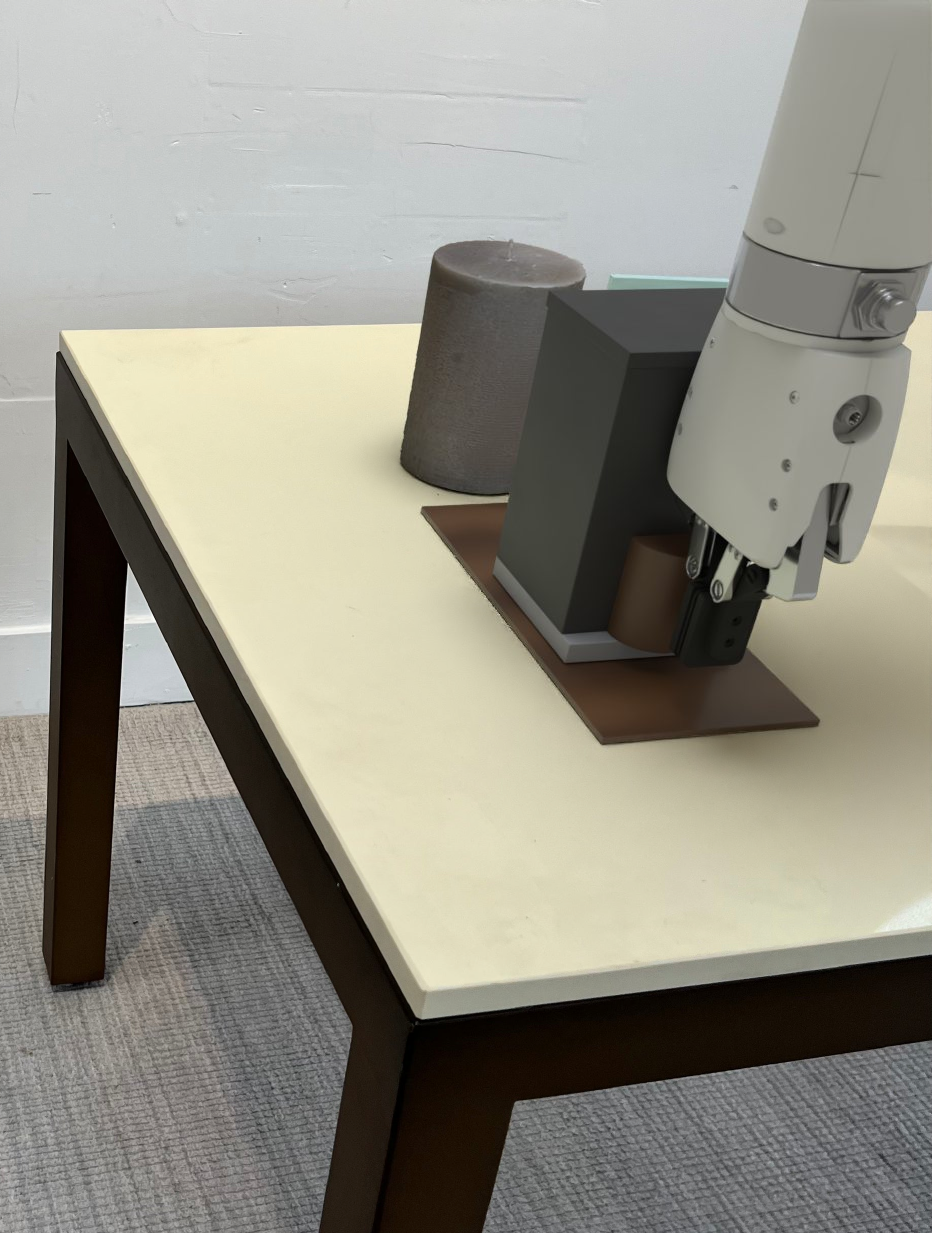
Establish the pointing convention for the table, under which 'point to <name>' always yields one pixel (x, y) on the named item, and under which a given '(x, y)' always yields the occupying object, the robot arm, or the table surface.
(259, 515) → the table surface
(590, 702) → the base board
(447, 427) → the pillar candle
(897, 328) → the robot arm
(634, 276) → the right angle wall
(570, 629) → the coffee maker
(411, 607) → the table surface
